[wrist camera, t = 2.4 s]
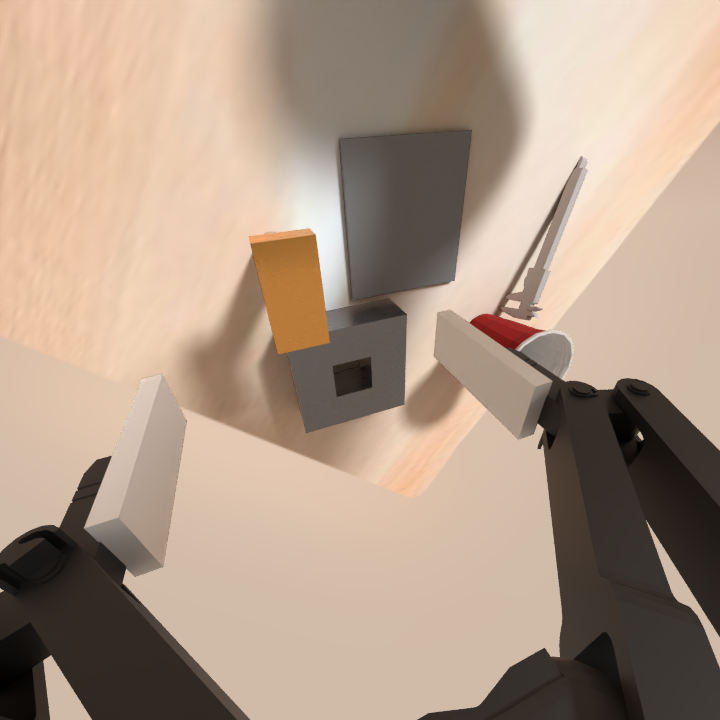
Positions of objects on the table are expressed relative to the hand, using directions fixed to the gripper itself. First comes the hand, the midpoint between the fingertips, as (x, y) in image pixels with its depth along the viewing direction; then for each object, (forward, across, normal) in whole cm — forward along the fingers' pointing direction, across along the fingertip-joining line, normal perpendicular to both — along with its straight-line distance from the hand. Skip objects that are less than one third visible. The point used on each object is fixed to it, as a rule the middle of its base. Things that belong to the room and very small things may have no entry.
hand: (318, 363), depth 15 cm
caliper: (+22, +36, -4) cm, 42 cm away
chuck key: (+22, 0, 0) cm, 22 cm away
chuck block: (+22, +6, -15) cm, 27 cm away
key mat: (+22, +15, +1) cm, 27 cm away
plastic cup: (+22, +28, -16) cm, 39 cm away
